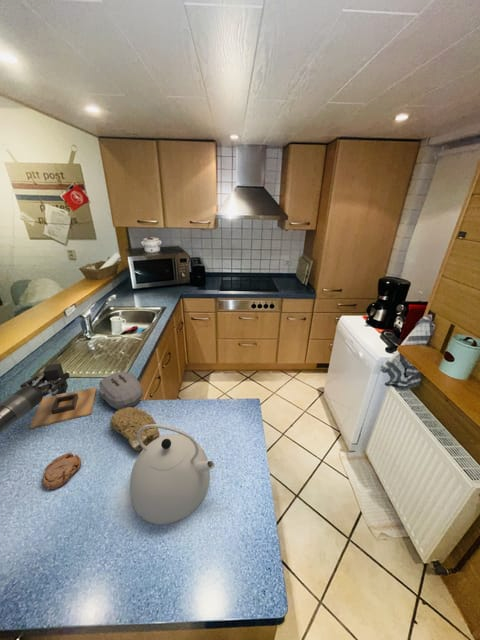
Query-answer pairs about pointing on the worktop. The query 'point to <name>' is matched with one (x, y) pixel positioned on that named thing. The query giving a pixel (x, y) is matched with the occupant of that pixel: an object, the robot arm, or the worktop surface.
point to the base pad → (64, 407)
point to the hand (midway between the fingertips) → (60, 373)
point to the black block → (55, 375)
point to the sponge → (134, 426)
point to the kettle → (169, 477)
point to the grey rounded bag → (121, 390)
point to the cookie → (60, 470)
